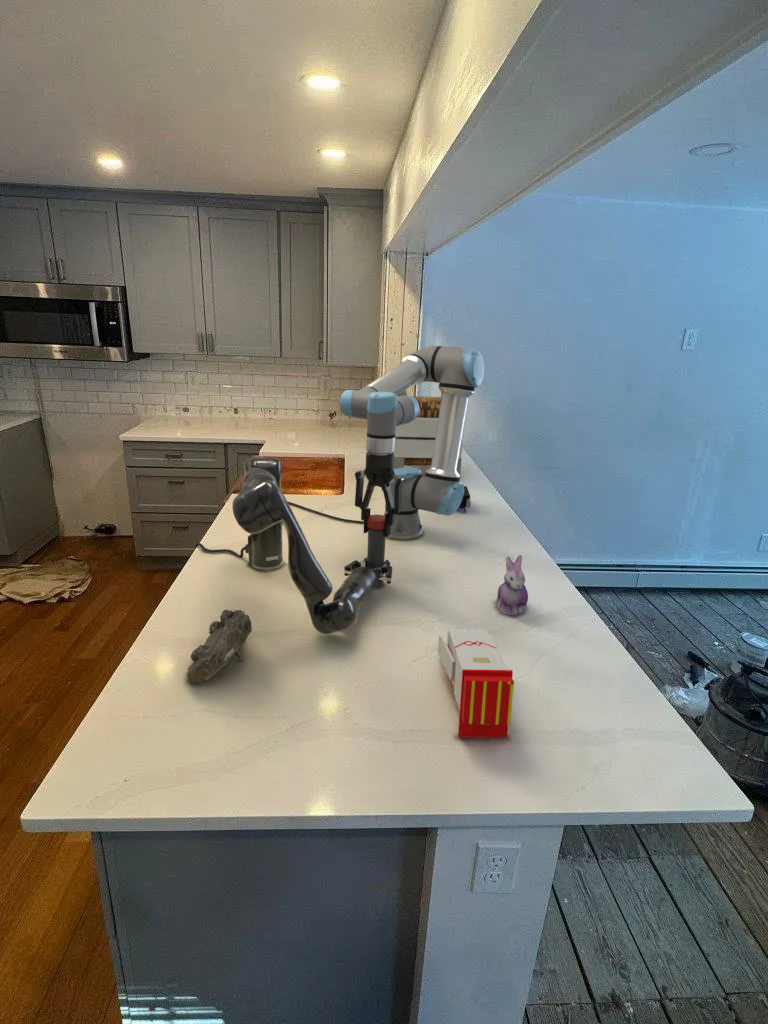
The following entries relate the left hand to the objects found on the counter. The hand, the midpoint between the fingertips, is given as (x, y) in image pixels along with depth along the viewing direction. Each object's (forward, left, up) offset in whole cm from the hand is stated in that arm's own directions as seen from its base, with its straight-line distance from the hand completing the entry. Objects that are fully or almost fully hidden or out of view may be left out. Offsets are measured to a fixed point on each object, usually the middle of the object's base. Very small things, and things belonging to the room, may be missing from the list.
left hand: (378, 561), depth 163 cm
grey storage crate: (-16, +117, -6) cm, 118 cm away
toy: (+34, -42, -6) cm, 54 cm away
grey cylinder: (0, -3, -6) cm, 7 cm away
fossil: (-20, -49, -6) cm, 53 cm away
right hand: (0, -3, +10) cm, 10 cm away
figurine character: (+11, +74, -6) cm, 75 cm away
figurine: (+39, -2, -6) cm, 39 cm away
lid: (0, -3, +14) cm, 14 cm away
